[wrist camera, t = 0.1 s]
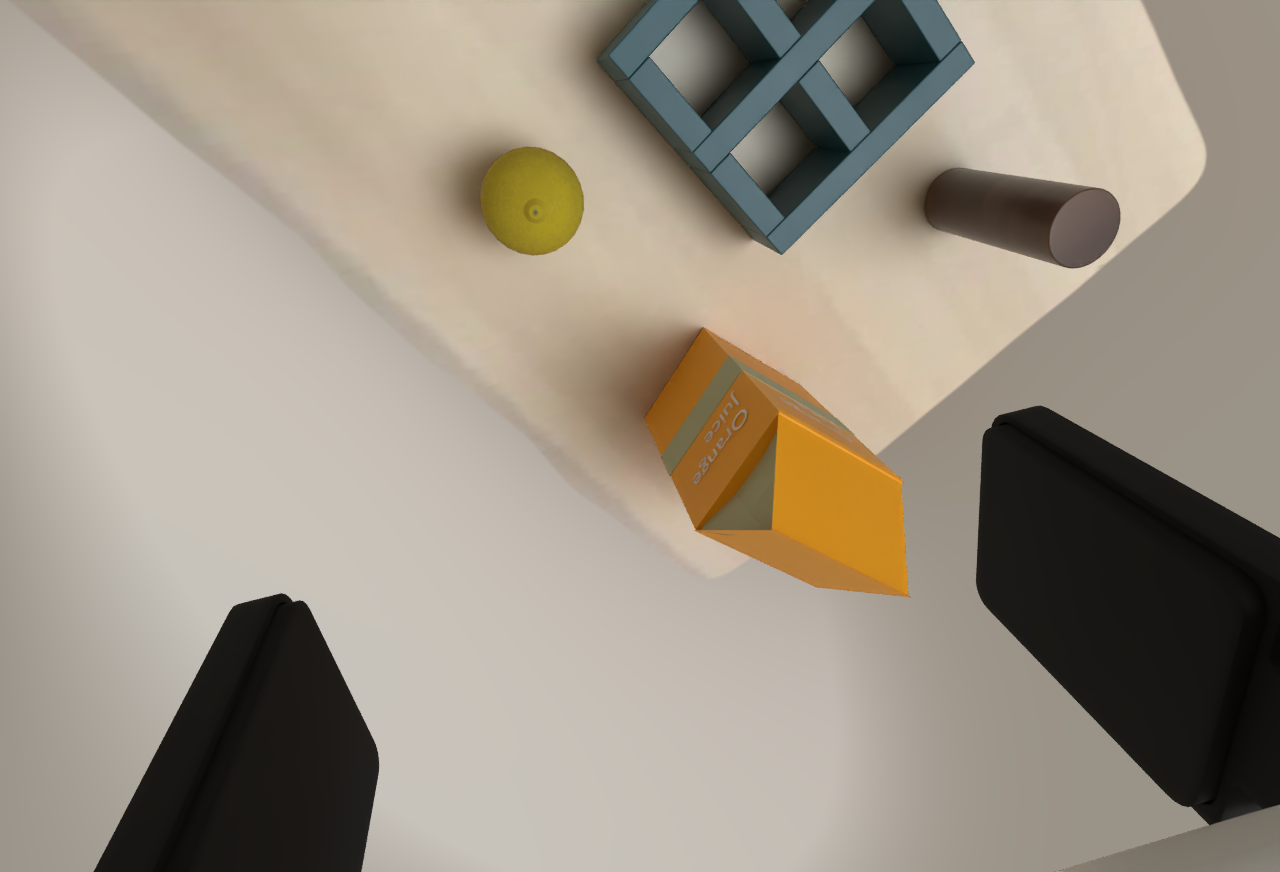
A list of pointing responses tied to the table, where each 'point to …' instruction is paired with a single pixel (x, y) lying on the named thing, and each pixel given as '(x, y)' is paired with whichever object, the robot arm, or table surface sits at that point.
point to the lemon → (532, 201)
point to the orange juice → (778, 473)
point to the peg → (1025, 215)
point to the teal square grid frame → (790, 97)
